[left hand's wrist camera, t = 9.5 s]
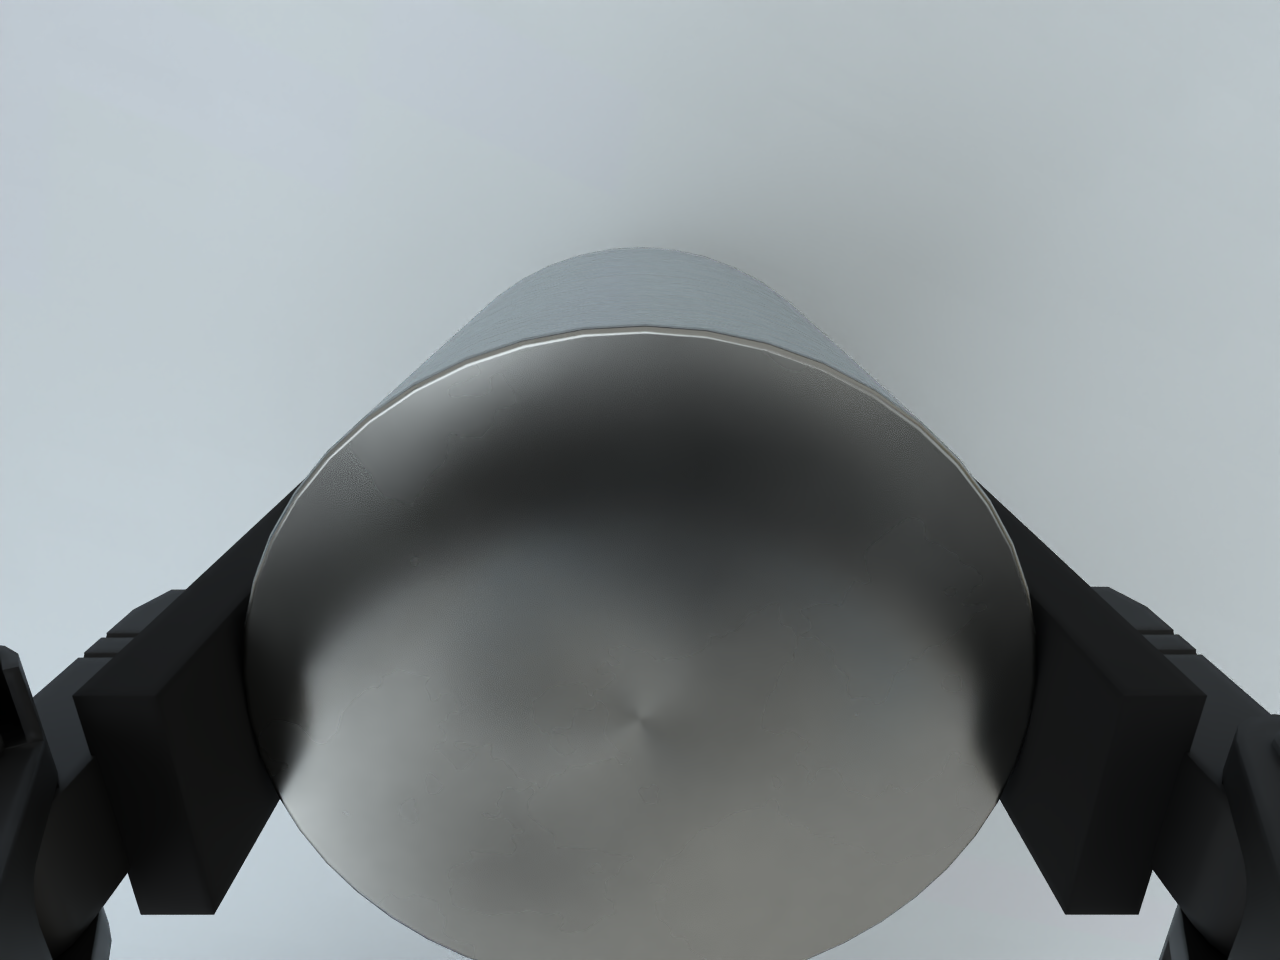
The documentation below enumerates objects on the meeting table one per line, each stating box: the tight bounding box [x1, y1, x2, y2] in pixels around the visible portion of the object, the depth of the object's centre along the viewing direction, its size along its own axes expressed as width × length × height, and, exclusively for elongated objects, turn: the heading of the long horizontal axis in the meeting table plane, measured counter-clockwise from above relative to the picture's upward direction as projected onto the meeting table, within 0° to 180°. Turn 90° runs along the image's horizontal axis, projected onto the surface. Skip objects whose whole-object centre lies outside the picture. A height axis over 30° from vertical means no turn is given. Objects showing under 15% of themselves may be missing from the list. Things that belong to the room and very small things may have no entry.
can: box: [243, 247, 1036, 960], centre depth 12 cm, size 9×9×8 cm
